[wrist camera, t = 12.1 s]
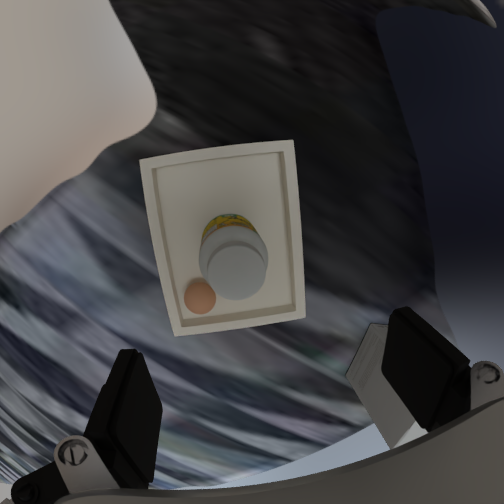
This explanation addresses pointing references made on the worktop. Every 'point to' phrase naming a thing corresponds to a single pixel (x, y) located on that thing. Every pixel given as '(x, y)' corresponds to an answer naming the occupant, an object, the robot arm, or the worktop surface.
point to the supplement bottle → (233, 257)
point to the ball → (199, 298)
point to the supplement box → (381, 391)
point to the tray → (226, 202)
